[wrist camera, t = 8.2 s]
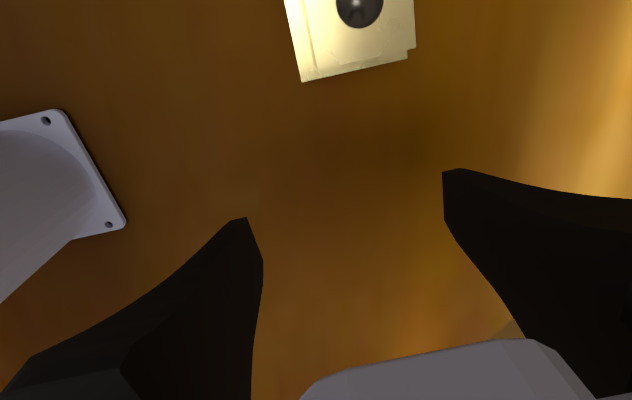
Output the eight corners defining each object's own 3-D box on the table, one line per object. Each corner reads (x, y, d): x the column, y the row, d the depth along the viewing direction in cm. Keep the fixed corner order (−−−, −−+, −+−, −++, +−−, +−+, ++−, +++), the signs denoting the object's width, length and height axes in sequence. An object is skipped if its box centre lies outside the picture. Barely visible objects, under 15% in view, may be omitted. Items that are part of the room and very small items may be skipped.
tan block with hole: (300, 74, 18) (303, 94, 12) (278, -31, 16) (266, -75, 10) (387, 54, 18) (436, 64, 12) (377, -55, 16) (431, -116, 10)
